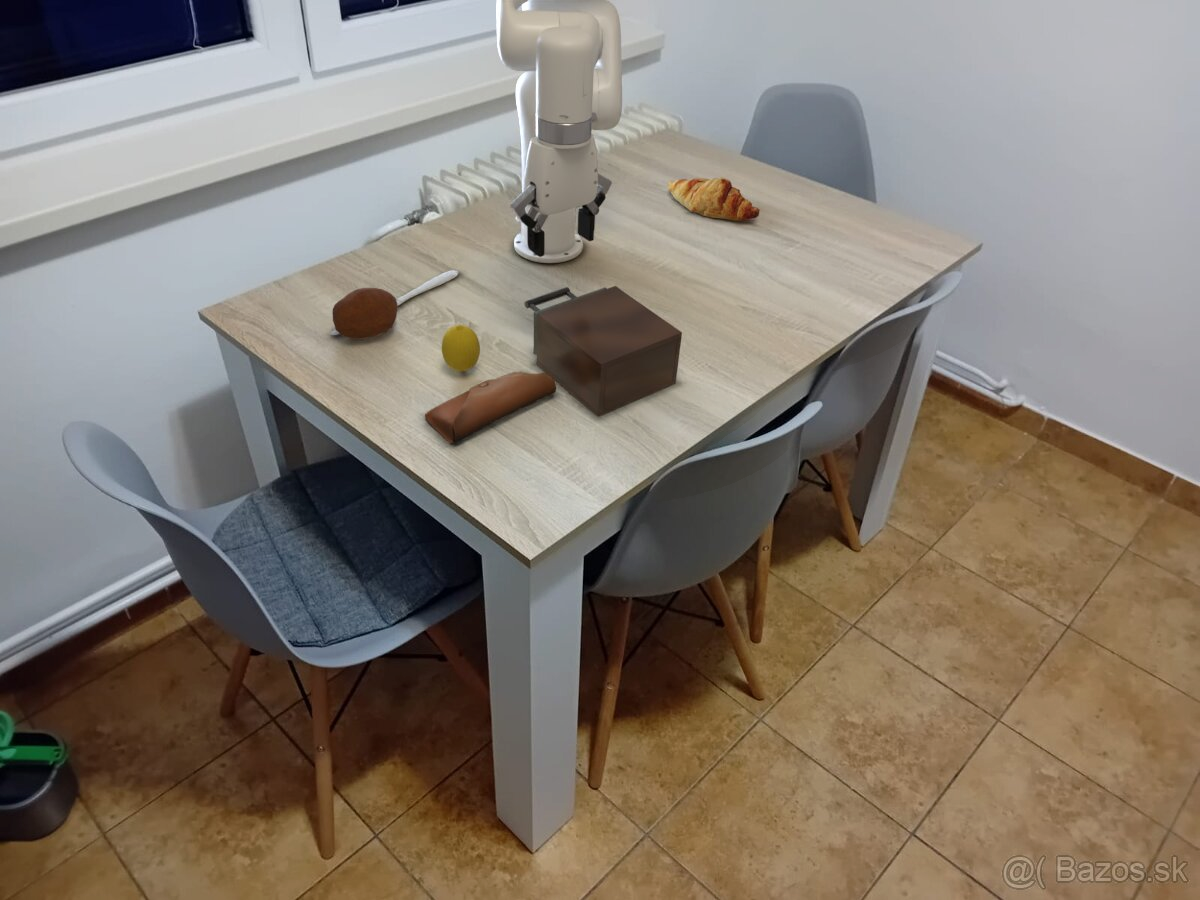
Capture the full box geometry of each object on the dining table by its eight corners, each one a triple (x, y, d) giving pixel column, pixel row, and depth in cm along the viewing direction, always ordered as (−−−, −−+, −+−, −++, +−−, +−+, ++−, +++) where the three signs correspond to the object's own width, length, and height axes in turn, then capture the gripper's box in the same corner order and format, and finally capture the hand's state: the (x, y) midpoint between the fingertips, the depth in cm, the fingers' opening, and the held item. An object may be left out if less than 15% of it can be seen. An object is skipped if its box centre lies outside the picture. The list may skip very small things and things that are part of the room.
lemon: (474, 384, 133) (472, 338, 128) (438, 378, 134) (434, 332, 129) (485, 363, 138) (483, 318, 132) (450, 358, 138) (447, 312, 133)
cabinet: (536, 364, 138) (536, 313, 132) (612, 335, 145) (615, 285, 139) (598, 417, 129) (601, 364, 123) (675, 383, 136) (682, 332, 130)
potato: (322, 332, 141) (316, 291, 136) (378, 307, 147) (374, 267, 142) (355, 357, 137) (350, 316, 132) (411, 330, 144) (409, 290, 139)
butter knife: (464, 274, 156) (452, 267, 158) (338, 338, 140) (325, 330, 141) (464, 277, 157) (452, 270, 158) (338, 342, 141) (326, 333, 142)
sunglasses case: (519, 368, 136) (534, 346, 131) (545, 406, 135) (561, 385, 130) (419, 416, 126) (430, 394, 121) (447, 457, 125) (459, 437, 120)
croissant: (658, 213, 187) (650, 186, 180) (683, 178, 190) (676, 150, 183) (748, 243, 178) (744, 216, 171) (773, 206, 180) (770, 177, 173)
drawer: (509, 333, 143) (509, 292, 138) (578, 308, 149) (580, 269, 144) (590, 400, 130) (592, 358, 126) (661, 371, 137) (665, 329, 132)
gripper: (598, 107, 129) (593, 221, 140) (494, 131, 121) (497, 249, 132) (631, 124, 125) (623, 240, 136) (525, 150, 116) (526, 271, 127)
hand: (561, 244), depth 134 cm, fingers open, 8 cm apart
